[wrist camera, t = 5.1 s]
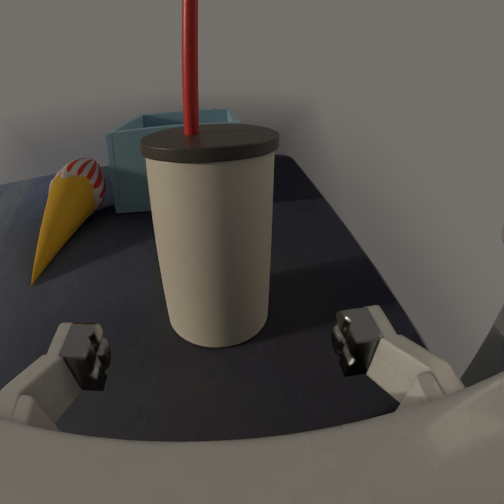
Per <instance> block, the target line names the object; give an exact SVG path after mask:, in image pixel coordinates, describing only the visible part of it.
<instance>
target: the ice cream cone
mask: <svg viewBox="0 0 504 504" xmlns="http://www.w3.org/2000/svg"><path fill="white" fill-rule="evenodd" d="M104 194H105V180H104V176H103V173H102V170H101V168H100V166H99V164H98V163H97V162H96V161H95V160H93V159H89V158H83V159H77V160H73V161H71V162H69V163H67V165H65V166H64V168H62V169H61V170H59V171H58V172H57V174H56V175H55V177H54V178H53V180H52V181H51V182H50V185H49V196H48V200H47V204H46V208H45V212H44V216H43V220H42V225H41V229H40V234H39V239H38V244H37V249H36V255H35V261H34V267H33V274H32V281H31V286H32V285H33V283H34V282H35V281H36V279H37V278H38V277H39V275H40V274H41V273H42V272H43V270H44V269H45V268H46V267H47V265H48V264H49V263H50V261H51V260H52V259H53V258H54V257H55V255H56V254H57V253H58V252H59V250H60V249H61V248H62V247H63V246H64V244H65V243H66V242H67V241H68V240H69V239H70V237H71V236H72V235H73V234H74V233H75V232H76V230H77V229H78V228H79V227H80V226H81V225H82V224H83V223H84V221H85V220H86V219H87V218H88V217H89V216H90V215H92V214H93V213H94V212H95V211H96V209H97V208H98V207H99V206H100V205H101V204H102V202H103V198H104Z"/></svg>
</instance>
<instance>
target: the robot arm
mask: <svg viewBox="0 0 504 504" xmlns="http://www.w3.org/2000/svg"><path fill="white" fill-rule="evenodd" d="M335 319H336V321H337V325H336V326H335V327H334V328H333V332H332V345H333V349H334V351H335V353H336V354H337V355H338V356H340V361H339V364H340V367H341V369H342V372H343V374H344V377H347V376H354V375H360V374H366V373H367V374H366V375H368V376H369V377H370V378H371V379H372V380H373V381H375V382H376V383H377V384H378V385H379V386H381V387H382V388H383V389H384V390H385V391H386V392H388V393H389V394H390V395H391V396H392V397H394V398H395V399H396V400H397V401H398V402H400V405H399V406H398V408H397V409H396V411H395V412H393V413H389V414H386V415H382V416H378V417H374V418H370V419H366V420H362V421H358V422H354V423H349V424H344V425H340V426H335V427H330V428H324V429H319V430H313V431H307V432H301V433H294V434H287V435H279V436H271V437H262V438H252V439H240V440H225V441H201V442H160V441H137V440H122V439H111V438H101V437H92V436H85V435H77V434H71V433H64V432H61V430H60V429H59V428H58V427H57V426H56V425H55V424H56V422H57V421H58V420H59V419H60V417H61V416H62V415H63V414H64V413H65V411H66V410H67V409H68V408H69V407H70V406H71V404H72V403H73V402H74V401H75V400H76V398H77V397H78V396H79V395H80V394H81V393H82V390H92V391H104V386H105V382H106V378H107V375H106V373H105V370H106V369H107V368H108V367H109V365H110V360H111V351H110V346H109V343H108V341H107V340H106V339H105V338H103V337H102V336H103V333H104V331H103V329H102V326H101V325H100V324H95V323H65V322H62V323H61V324H60V325H59V327H58V329H57V331H56V334H55V336H54V338H53V340H52V343H51V345H50V347H49V350H48V352H47V355H42V356H41V357H40V358H39V359H37V360H36V361H35V362H34V363H32V364H31V365H30V366H29V367H27V368H26V369H25V370H24V371H23V372H21V373H20V374H19V375H18V376H17V377H15V378H14V379H13V380H12V381H11V382H9V383H8V384H7V385H6V386H5V387H3V388H2V389H1V391H0V504H504V371H503V372H501V373H499V374H497V375H494V376H492V377H490V378H488V379H485V380H483V381H481V382H479V383H476V384H474V385H471V386H469V387H466V388H465V387H464V385H463V383H462V382H461V380H460V378H459V377H458V375H457V373H456V372H455V370H454V369H453V367H452V365H451V364H450V363H448V362H447V361H445V360H443V359H442V358H440V357H438V356H437V355H435V354H433V353H431V352H430V351H428V350H426V349H425V348H423V347H421V346H420V345H418V344H416V343H414V342H413V341H411V340H409V339H408V338H406V337H404V336H402V335H397V334H396V332H395V330H394V329H393V327H392V325H391V324H390V322H389V320H388V319H387V317H386V316H385V314H384V312H383V311H382V309H381V308H380V306H378V305H373V306H366V307H359V308H352V309H344V310H338V312H337V314H336V318H335Z"/></svg>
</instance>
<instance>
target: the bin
mask: <svg viewBox="0 0 504 504" xmlns="http://www.w3.org/2000/svg"><path fill="white" fill-rule="evenodd" d="M201 124H242V123H241V122H240V120H239V118H238V116H237V115H236V113H235V111H234V110H233V109H205V110H199V125H201ZM182 126H184V120H183V111H175V112H163V113H153V114H144V115H138V116H136V117H134V118H133V119H131V120H129V121H127V122H125V123H123V124H122V125H120V126H118V127H116V128H114V129H112V130H111V131H109V132H107V133H106V134H105V139H106V147H107V156H108V164H109V171H110V178H111V185H112V191H113V198H114V204H115V210H116V214H117V213H129V212H143V211H151V203H150V195H149V187H148V178H147V169H146V159H145V157H143V156H142V154H141V153H140V140H141V139H142V138H143V137H145V136H147V135H149V134H151V133H154V132H158V131H161V130H166V129H170V128H176V127H182Z"/></svg>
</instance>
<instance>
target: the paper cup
mask: <svg viewBox="0 0 504 504" xmlns="http://www.w3.org/2000/svg"><path fill="white" fill-rule="evenodd" d="M182 85H183V86H182V89H183V120H184V126H182V127H176V128H170V129H166V130H161V131H158V132H154V133H151V134H149V135H147V136H145V137H143V138H142V139H141V140H140V153H141V154H142V156H143V157H145V159H146V169H147V178H148V187H149V195H150V203H151V211H152V219H153V226H154V233H155V239H156V246H157V252H158V258H159V264H160V270H161V276H162V281H163V287H164V292H165V297H166V303H167V308H168V313H169V317H170V322H171V325H172V327H173V328H174V330H175V331H176V332H177V333H178V334H179V335H180V336H181V337H182V338H184V339H185V340H187V341H189V342H191V343H193V344H196V345H199V346H204V347H213V348H220V347H229V346H233V345H237V344H240V343H242V342H245V341H247V340H249V339H250V338H252V337H253V336H255V335H256V334H257V333H258V332H259V331H260V330H261V329H262V327H263V326H264V324H265V322H266V320H267V316H268V298H269V278H270V256H271V233H272V208H273V181H274V151H275V150H276V149H277V148H278V147H279V133H278V132H276V131H274V130H272V129H269V128H266V127H261V126H254V125H245V124H201V125H199V106H198V0H182Z"/></svg>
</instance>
